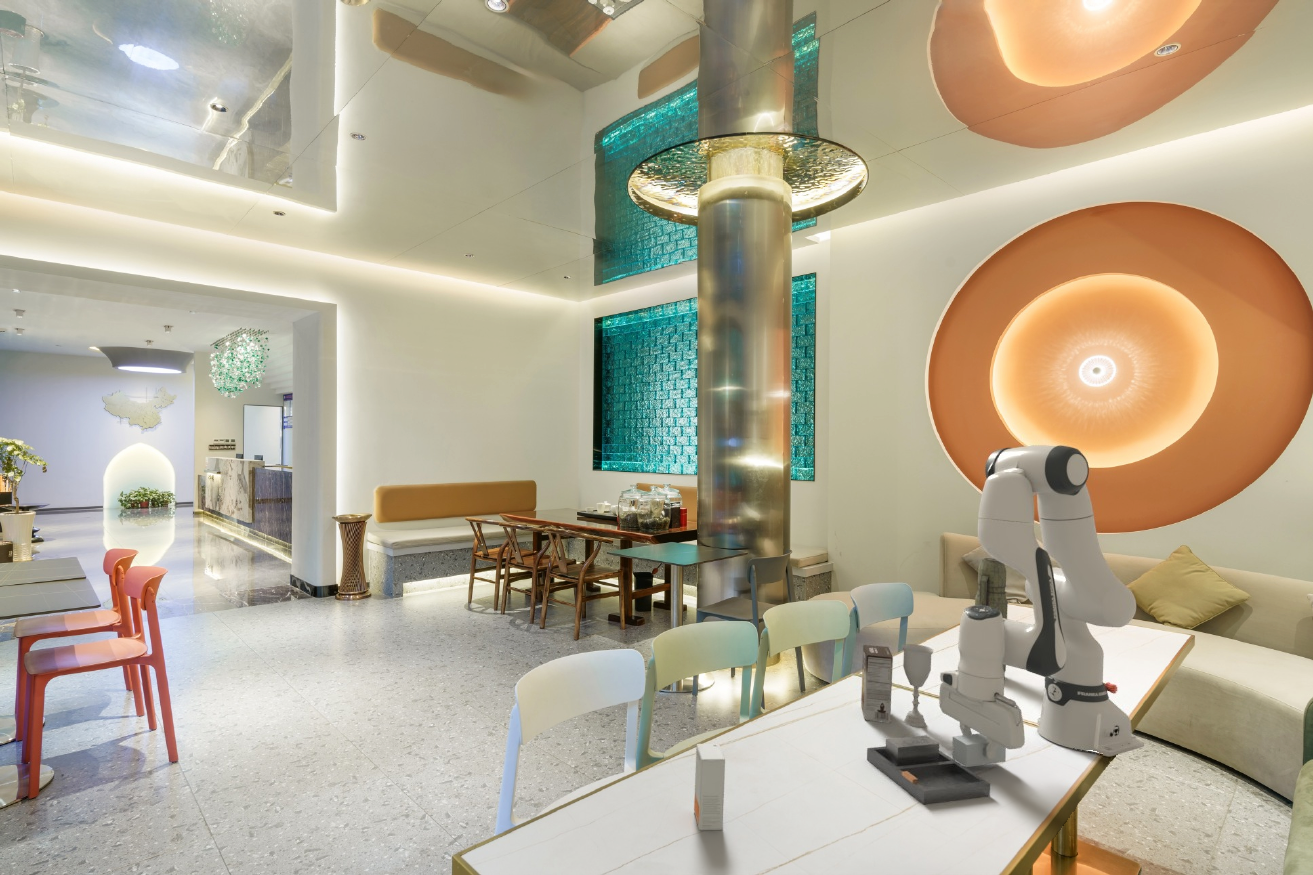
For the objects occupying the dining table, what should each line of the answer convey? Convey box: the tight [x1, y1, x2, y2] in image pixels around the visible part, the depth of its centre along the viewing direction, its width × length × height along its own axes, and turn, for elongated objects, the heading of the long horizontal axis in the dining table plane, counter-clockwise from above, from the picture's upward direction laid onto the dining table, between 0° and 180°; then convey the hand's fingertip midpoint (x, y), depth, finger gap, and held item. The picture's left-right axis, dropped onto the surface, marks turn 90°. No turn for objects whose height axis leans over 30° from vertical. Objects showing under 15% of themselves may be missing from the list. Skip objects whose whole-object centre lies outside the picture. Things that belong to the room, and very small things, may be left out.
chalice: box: [901, 643, 935, 728], centre depth 161 cm, size 7×7×18 cm
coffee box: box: [860, 644, 894, 724], centre depth 164 cm, size 9×6×16 cm
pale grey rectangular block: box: [951, 732, 1007, 768], centre depth 139 cm, size 10×4×4 cm, turn 107°
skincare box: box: [693, 743, 726, 831], centre depth 114 cm, size 6×4×12 cm
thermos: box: [974, 557, 1009, 681], centre depth 199 cm, size 9×12×35 cm
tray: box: [866, 734, 991, 805], centre depth 133 cm, size 15×18×5 cm
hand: (978, 751), depth 139 cm, fingers closed on pale grey rectangular block, 4 cm apart
